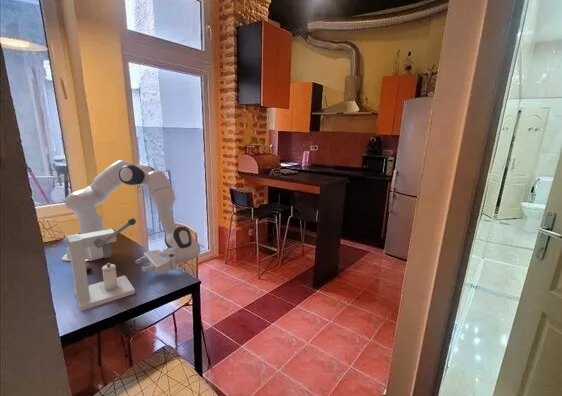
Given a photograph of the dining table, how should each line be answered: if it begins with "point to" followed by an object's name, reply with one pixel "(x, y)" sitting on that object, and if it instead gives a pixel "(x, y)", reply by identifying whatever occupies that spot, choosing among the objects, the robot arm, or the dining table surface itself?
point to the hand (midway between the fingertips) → (138, 265)
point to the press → (83, 291)
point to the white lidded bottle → (109, 276)
